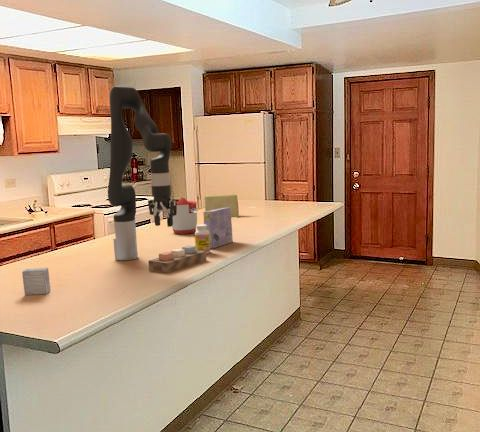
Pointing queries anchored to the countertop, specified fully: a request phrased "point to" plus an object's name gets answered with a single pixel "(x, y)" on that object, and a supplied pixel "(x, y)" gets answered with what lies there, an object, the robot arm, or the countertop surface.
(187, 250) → the slate key
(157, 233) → the countertop surface
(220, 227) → the cake pan box
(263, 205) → the countertop surface
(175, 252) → the cream cube
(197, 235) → the supplement bottle
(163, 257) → the pink cube
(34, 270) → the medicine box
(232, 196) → the cheese
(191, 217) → the citrus juicer
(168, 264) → the key panel
